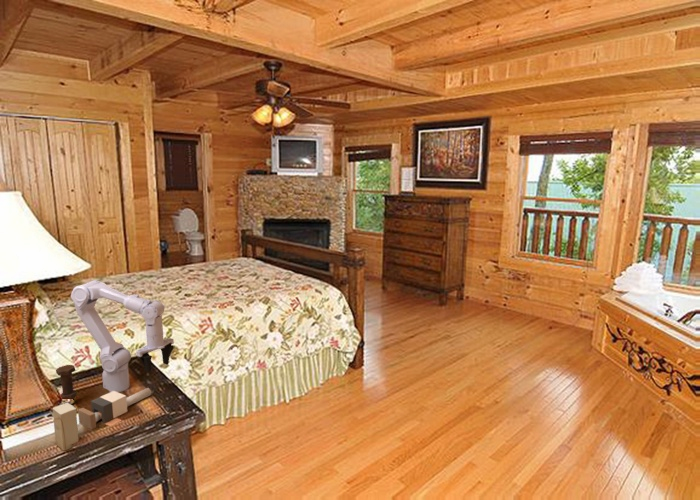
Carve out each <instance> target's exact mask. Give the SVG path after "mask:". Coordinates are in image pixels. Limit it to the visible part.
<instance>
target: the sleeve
mask: <svg viewBox="0 0 700 500" xmlns="http://www.w3.org/2000/svg"><path fill="white" fill-rule="evenodd" d="M100 397H101V398H103V399H105V400H108V401H110V402H112V408H113V419H115V418H118V417H119V416H121V415H123V414H126V413H127V412H128V407H127V400H126V398H127V395H125V394H123V393H120V392H116V391H112V392H108V393H105V394H103V395H101V396H100ZM113 419H112V420H113Z"/></svg>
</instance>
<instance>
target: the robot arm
mask: <svg viewBox="0 0 700 500" xmlns="http://www.w3.org/2000/svg"><path fill="white" fill-rule="evenodd" d="M70 298H71V299H72V302H73V303H74V309H75V311H76V313H77V315H78V317H79V318H80V320H81V321H82V322H83V324H84V326H85V327H86V329H87V331H88V333H90V335H91V337H92V338H93V341H94V342H95V344H97V346H98V348H99V350H100V353H99V358H98V359H99V360H100V363H101V367H102V369H103V372H102V374H101V375H102V376H101V377H102V386H103V387H102V388H103V389H104V390H105V389H106V390H108V393H110V392H112V391H116V392H118V393H120V392H124V391H126V390H128V389H130V385H131V384H130V374H129V373H130V371H129V362H130V360H131V358H132V354H131V352H130V350H129V349H127V348H126V347H125V346H124V345H123V343H119V342H116V340H115V338H114V337H113V335H112V333H111V332H110V331H109V328H108V327H107V326H106V324H105V323H104V321H103V320H102V318H101V316H100V315H99V313H98V312H97V310H96V309H95V306H96V303H97V301H98V300H99V299H102V298H104V299H106V300H110V301H113V302H116V303H120V304H122V305H124V308H125V309H127V310H129V311H131V312H134V313H137V314H139V315H141V317H142V318H143V319H144V323H145V334H146V345H145V346H144V347H141V348H140V349H138V350H136V356H137V357H138V359H139V360H140V361H141V363H142V365H143V367H144V370H145V372H146V373H150V372H151V371H152V365H151V364H152V358H153V356H152V355H150V354H149V353H152V352H154V351H156V350H161V351H160V352H161V357H162V362H163V364H164V365H168V364H169V362H170V356H171V354H172V352H173V350H174V338H165V339H164V328H163V327H164V326H163V313H164V311H165V305H164V304H163V303H162V302H161V301H159V300H153V301H152V300H151V299H146V298H144V297H142V296H140V295H139V294H137V293H136V294H130V295H128V294H125V293H123V292H121V291H119V290H117V289H115V288H113V287H110V286H108V285H107V284H106V283H105V282H102V281H99V280H96V279H95V280H91V281H88V282H87V283H86V282H85V283H83V284H81V285H76V286H75V287H73V289H72V291H71V294H70Z"/></svg>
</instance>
